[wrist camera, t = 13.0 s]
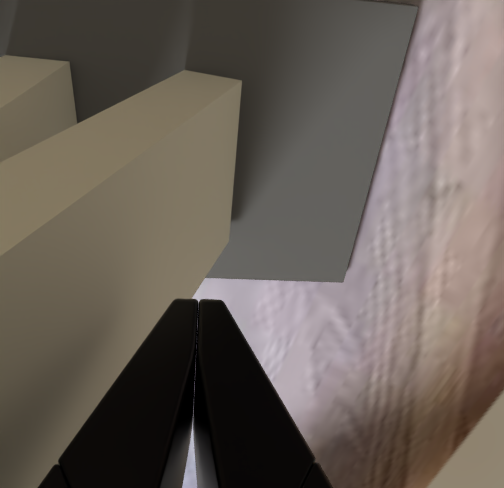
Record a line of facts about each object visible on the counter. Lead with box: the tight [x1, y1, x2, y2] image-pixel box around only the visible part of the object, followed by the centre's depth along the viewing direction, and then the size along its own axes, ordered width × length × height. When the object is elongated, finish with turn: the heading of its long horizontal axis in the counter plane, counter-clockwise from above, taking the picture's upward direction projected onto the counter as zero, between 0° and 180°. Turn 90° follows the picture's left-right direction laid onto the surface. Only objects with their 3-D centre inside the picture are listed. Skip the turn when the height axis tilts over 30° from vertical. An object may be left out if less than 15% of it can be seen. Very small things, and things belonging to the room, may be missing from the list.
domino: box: [0, 70, 242, 488], centre depth 9 cm, size 2×5×10 cm, turn 175°
